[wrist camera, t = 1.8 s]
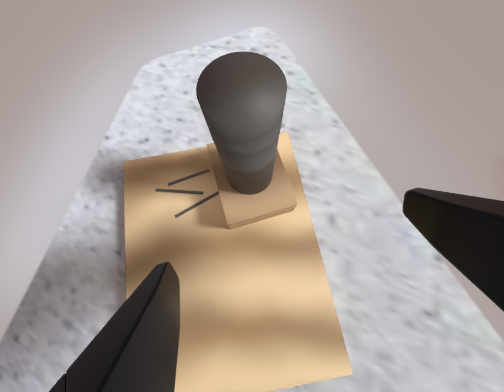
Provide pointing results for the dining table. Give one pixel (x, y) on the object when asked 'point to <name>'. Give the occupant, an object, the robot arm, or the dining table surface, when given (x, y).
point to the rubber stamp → (246, 135)
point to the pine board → (233, 278)
